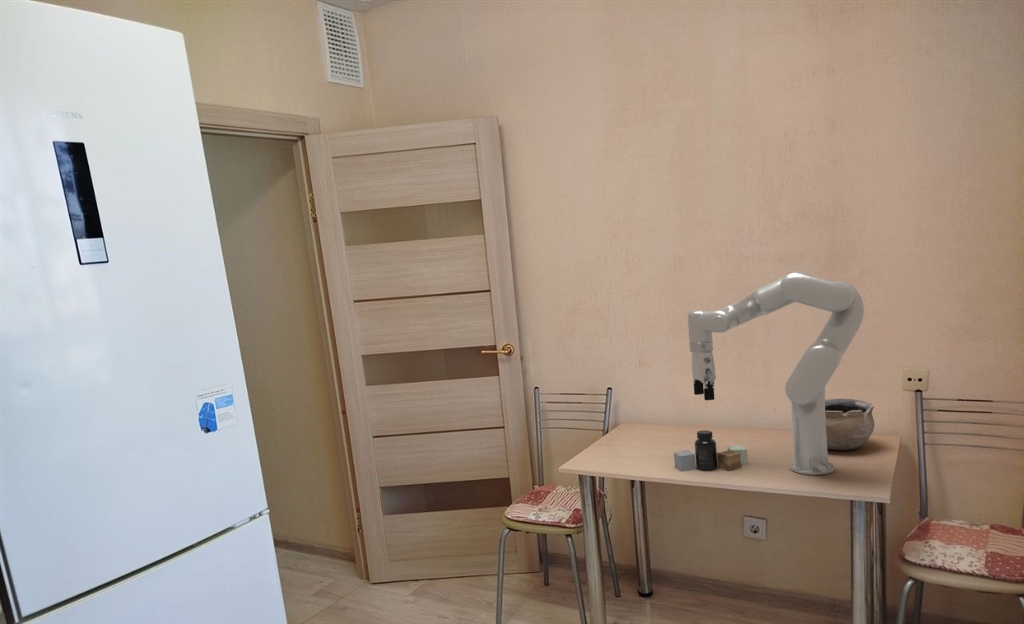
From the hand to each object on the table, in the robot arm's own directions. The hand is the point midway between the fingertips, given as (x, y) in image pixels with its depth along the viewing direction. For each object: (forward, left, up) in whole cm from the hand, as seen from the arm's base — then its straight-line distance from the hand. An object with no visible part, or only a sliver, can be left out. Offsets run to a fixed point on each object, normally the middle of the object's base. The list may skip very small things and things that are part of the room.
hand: (704, 397), depth 216 cm
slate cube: (-5, +10, -22) cm, 25 cm away
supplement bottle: (-7, +3, -22) cm, 23 cm away
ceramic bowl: (-1, -46, -22) cm, 51 cm away
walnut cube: (-10, -3, -22) cm, 24 cm away
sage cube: (-5, -8, -22) cm, 24 cm away
